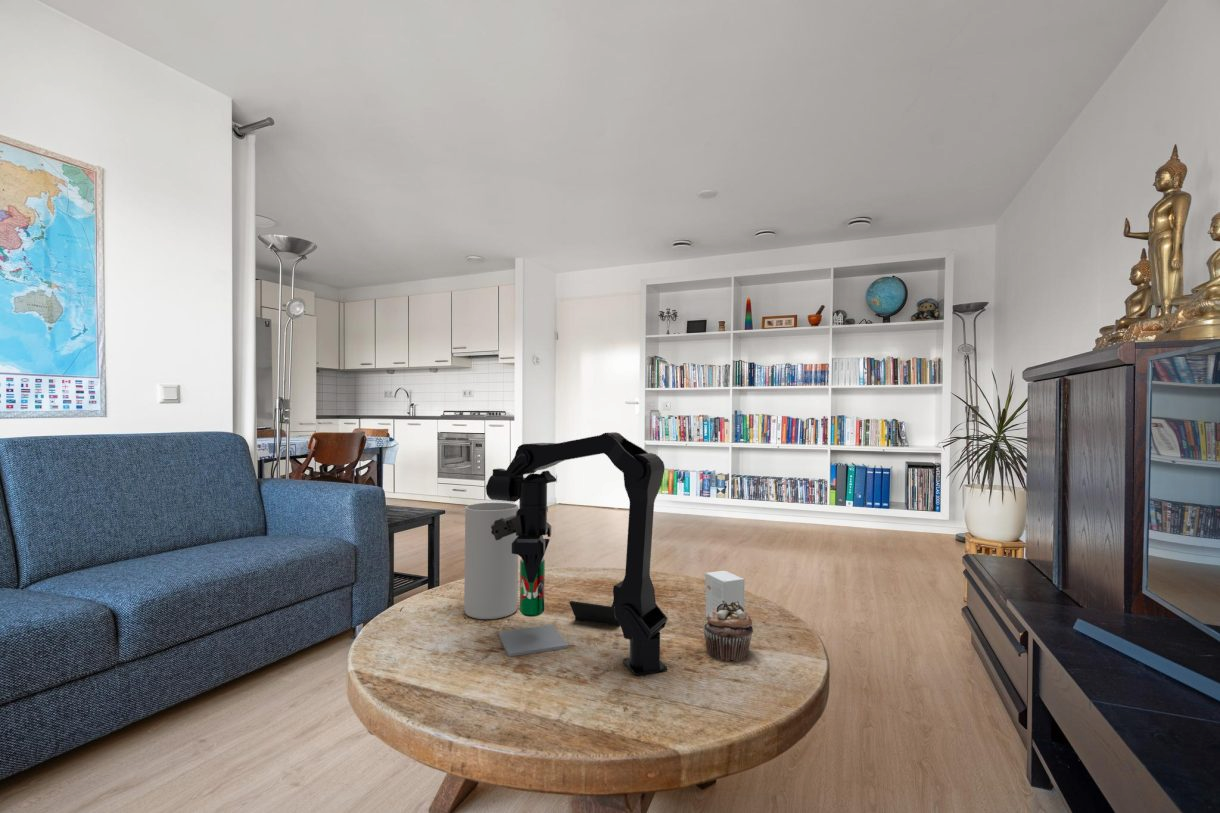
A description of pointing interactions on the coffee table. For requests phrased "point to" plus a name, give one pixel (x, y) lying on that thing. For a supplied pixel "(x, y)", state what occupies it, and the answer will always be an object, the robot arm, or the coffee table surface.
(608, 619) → the handheld gaming console
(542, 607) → the soda can
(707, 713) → the coffee table surface
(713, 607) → the small box
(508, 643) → the slate mat
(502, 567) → the cylinder vase
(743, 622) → the cupcake
